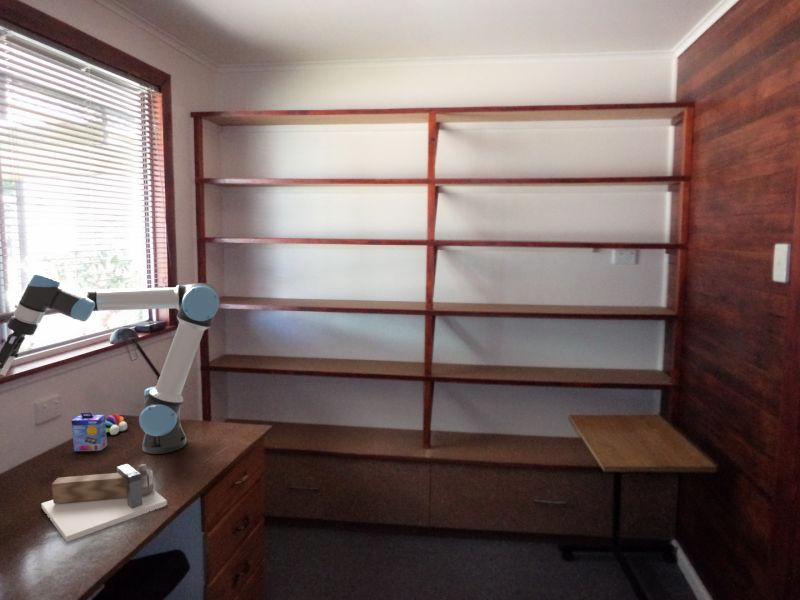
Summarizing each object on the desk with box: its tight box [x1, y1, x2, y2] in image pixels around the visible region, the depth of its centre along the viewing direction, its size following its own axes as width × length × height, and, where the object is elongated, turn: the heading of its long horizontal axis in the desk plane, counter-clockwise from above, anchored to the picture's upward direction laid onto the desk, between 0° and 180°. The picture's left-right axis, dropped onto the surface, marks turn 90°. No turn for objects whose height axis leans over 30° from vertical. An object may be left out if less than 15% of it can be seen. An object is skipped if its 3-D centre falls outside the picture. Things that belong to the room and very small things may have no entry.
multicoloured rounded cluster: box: [105, 413, 128, 436], centre depth 216 cm, size 8×10×7 cm
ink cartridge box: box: [70, 411, 108, 452], centre depth 199 cm, size 10×6×14 cm, turn 95°
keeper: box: [116, 463, 142, 509], centre depth 157 cm, size 3×10×11 cm, turn 46°
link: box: [51, 463, 155, 503], centre depth 159 cm, size 27×5×8 cm, turn 101°
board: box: [40, 489, 168, 543], centre depth 157 cm, size 26×25×2 cm
